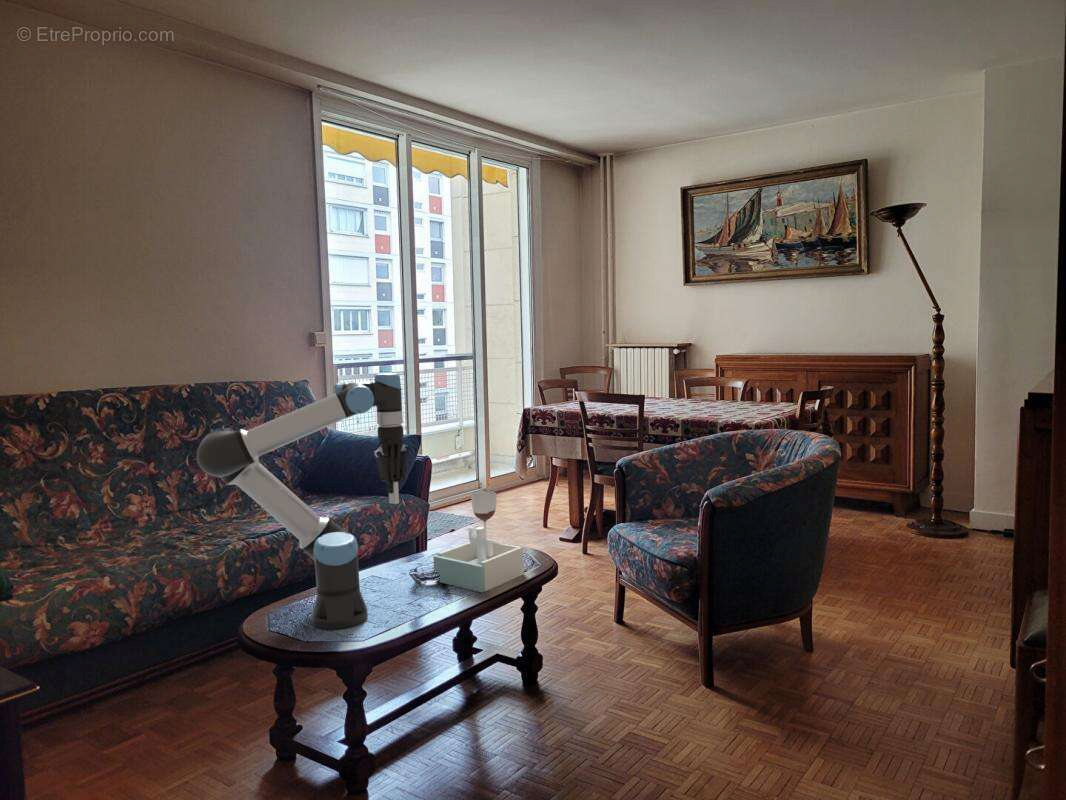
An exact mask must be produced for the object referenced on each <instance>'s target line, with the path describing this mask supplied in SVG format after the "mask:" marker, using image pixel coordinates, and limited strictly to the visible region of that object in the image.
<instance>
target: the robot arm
mask: <svg viewBox="0 0 1066 800" xmlns="http://www.w3.org/2000/svg"><path fill="white" fill-rule="evenodd" d="M402 396H403V395H402V383H401V375H400V374H399V373H395V372H385V373H376V374H375V375H374V380H369V381H349V382H347V381H343V382H337V383H335V384H333V394H331V395H329V396H326V397H324V398H322V399H319V400H316V401H314V402H312V403H309V404H307V405H305V406H302V407H300V408H297V409H295V410H293V411H290V412H288V413H285V414H283V415H281V416H279V417H276V418H273V419H271V420H269V421H267V422H265V423H262V424H260V425H257V426H255V427H252V428H250V429H248V430H245V429H243V428H240V429H237V430H233V429H230V428H217V429H214V430H212V431H210V432H209V433H208V434H206V435H205V436H204V438H203V439H202V440H201V442H200V444H199V446H198V448H197V451H196V462H197V464H198V466H199V467H200V469H201V471H203V472H204V473H206V474H207V475H208V476H209V475H210V476H211V477H216V478H217V477H218V478H220V479H221V480H222V482H224V483H225V484H226V485H227V486H229V485H236V486H237V487H238V488H239V489H241V490H242V491H243V492H244V493H245V494H247V496H248V497H250V498H251V499H252V500H253V501H254V502H256V503H257V504H258V505H259V506H260V507H261V508H262V509H263V510H265V511H266V512H267V513H268V514H269V515H270V516H272V518H274V519H275V520H276V521H277V522H278V523H279V524H280V525H282V526H283V527H284V528H285V529H286V530H288V531H289V532H290V533H291V535H293V536H294V537H296V539H298V540H299V542H298V543H299V548H300V549H301V550H302V551H303V552H304V553H305V554H306V555H307V556H309V557H310V558H311V559H312V560H313V561H314V569H315V570H314V571H315V582H316V584H315V585H316V598H315V601H314V604H313V608H312V612H311V624H312V626H314V627H315V626H316V627H315V628H317V627H319V628H318V629H321V628H323V629H322V630H340V629H341V630H342V629H348V628H351V627H354V626H357V625H359V624H361V623H363V622H365V621H366V620H367V619H368V607H367V604H366V602H365V599H364V596H363V595H362V591H361V590H360V589H361V588H360V570H359V554H358V553H359V545H358V541H357V538H356V536H355V535H353V534H352V533H350V532H348V531H347V530H346V529H345V528H343V527H342V526H339V525H338V524H336V522H334V521H333V520H332V519H331V518H329V517H328V516H324V517H323V516H322V517H320V516H319V515H318V514H317V513H316V512H315V511H314V510H313V509H311V507H310V506H308V504H307V503H305V502H304V501H303V500H301V498H300V497H298V496H297V495H296V494H295V493H294V492H293V491H292V490H290V488H289V487H287V486H286V485H285V484H284V483H283V482H281V480H280V479H278V478H277V477H276V476H275V475H274V474H273V473H272V472H271V471H269V470H268V468H266V467H265V466H264V465H263V464H262V463H261V462H260V460H259V457H261V456H264V455H265V454H268V453H270V452H272V451H274V450H276V449H277V450H278V449H279V448H281V447H284V446H286V445H288V444H290V443H293V442H295V441H297V440H300V439H302V438H304V437H306V436H309V435H311V434H313V433H316V432H318V431H321V430H323V429H325V428H327V427H329V426H332V425H335V424H336V423H339V422H341V421H343V420H346V419H348V418H351V417H353V416H355V415H358V414H364V413H367V412H369V411H370V410H371V409H372V407H376V421H377V423H376V424H377V425H378V426H377V438H378V440H379V443H378V448H377V450H373V451H372V455H373V457H374V458H375V461H376V465H377V469H378V474H379V477H380V481H382V482H385V483H386V493H388V503H389V504H391V505H392V504H393V505H397V504H400V497H399V496H400V494H399V492H400V490H401V489H400V488H401V487H400V486H401V485H400V484H401V483H400V482H402V481H403V479H404V478H405V476H406V469H407V468H406V467H407V460H408V453H409V451H410V445H406V444H405V443H404V440H403V438H404V435H405V434H404V426H403V423H404V420H403V419H404V418H403V400H402V399H403V397H402Z"/></svg>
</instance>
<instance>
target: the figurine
mask: <svg viewBox="0 0 1066 800" xmlns="http://www.w3.org/2000/svg"><path fill="white" fill-rule="evenodd" d="M486 534H487V531H486V532H485V527H484V525H480V526H478V527H476V528H475V527H473V526H471V527H469V528H468V539H469V541H468V542H470V543H471V544H473V545H476V546H477V559H475V560H472V561H469V562H470V563H475V564H479V565H481V562H483V561H485V560H488V559H487V558H486V549H487V556H488V557H491V556H493V542H494V541H493V540H492V539H489V538H487V539H486V538H485V536H486ZM492 541H493V542H492Z"/></svg>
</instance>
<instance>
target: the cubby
mask: <svg viewBox="0 0 1066 800" xmlns="http://www.w3.org/2000/svg"><path fill="white" fill-rule="evenodd" d="M492 542H493V556H491V557H488V556H487V549H486V558H487V559H488V560H485V561H483V562H481V565H484V574H485V592H487V591H489V590H492V589H494V588H496V587H498V586H500V585H501V586H502V585H503V584H506V583H507V582H510V581H512V580H514V579H518V578H519V577H520V576H523V575H524V573H525V571H524V548H523V546H517V545H512V544H507V543H503V542H497V541H493V540H492ZM437 555H438V556H442V557H447V558H451V559H456V560H461V561H465V562H468V561H471V560H473V559H476V558H477V546H476V545H473V544H471V543H470V541H468V542H465V543H463V544H460V545H456V546H454V547H452V548H448V549H446V550H443V551H440V552H438V553H437Z"/></svg>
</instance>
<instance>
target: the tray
mask: <svg viewBox="0 0 1066 800" xmlns="http://www.w3.org/2000/svg"><path fill="white" fill-rule="evenodd" d="M476 559H477V558H476ZM473 560H475V559H473ZM471 561H472V560H471ZM433 570H434V571H436V572H438V573H439V574H440V582H439V583H441V584H446V585H450V586H454V587H458V588H462V589H467V590H470V591H474V592H479V593H485V592H486V591H485V574H484V565H479V564H475V563H470V562H469V561H468V562H465V561H461V560H456V559H451V558H447V557H442V556H438V554H436V555H433ZM434 571H433V572H434Z"/></svg>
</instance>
